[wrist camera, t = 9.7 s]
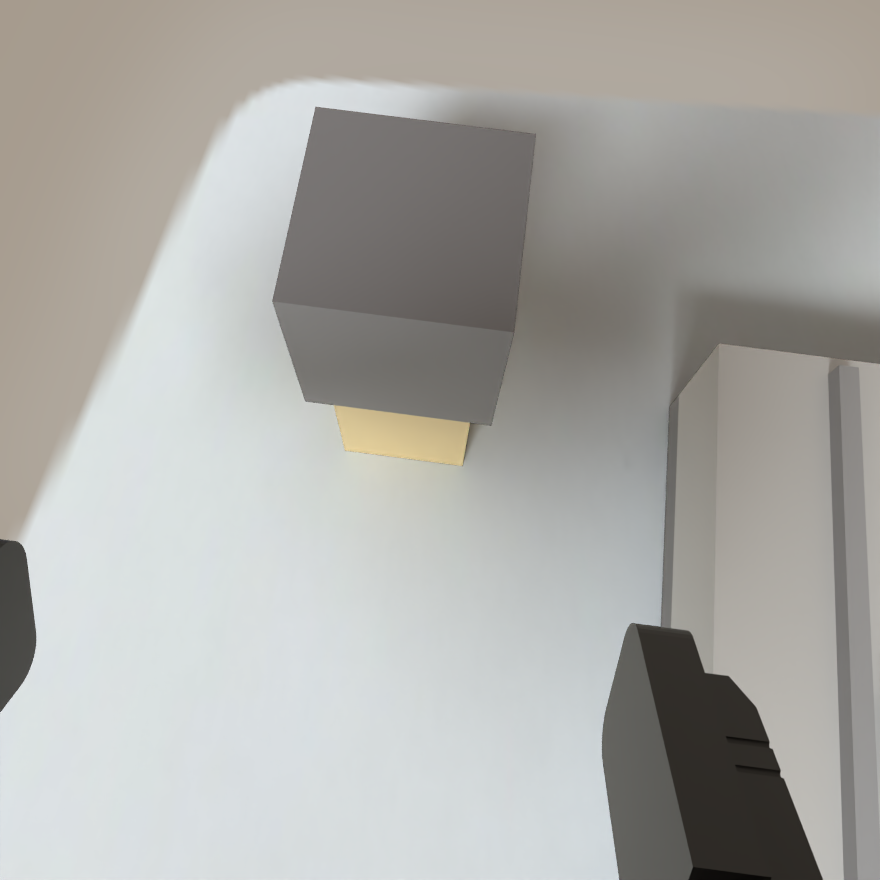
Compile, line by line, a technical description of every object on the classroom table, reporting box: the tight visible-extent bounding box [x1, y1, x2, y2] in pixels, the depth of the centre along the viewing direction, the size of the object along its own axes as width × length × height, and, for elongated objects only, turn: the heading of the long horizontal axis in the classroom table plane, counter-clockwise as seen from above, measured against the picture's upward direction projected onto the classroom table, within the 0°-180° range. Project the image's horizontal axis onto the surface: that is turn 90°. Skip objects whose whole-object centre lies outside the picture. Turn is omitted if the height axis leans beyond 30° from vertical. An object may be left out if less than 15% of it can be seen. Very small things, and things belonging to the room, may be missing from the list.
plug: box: [272, 107, 536, 466], centre depth 21 cm, size 5×5×10 cm
